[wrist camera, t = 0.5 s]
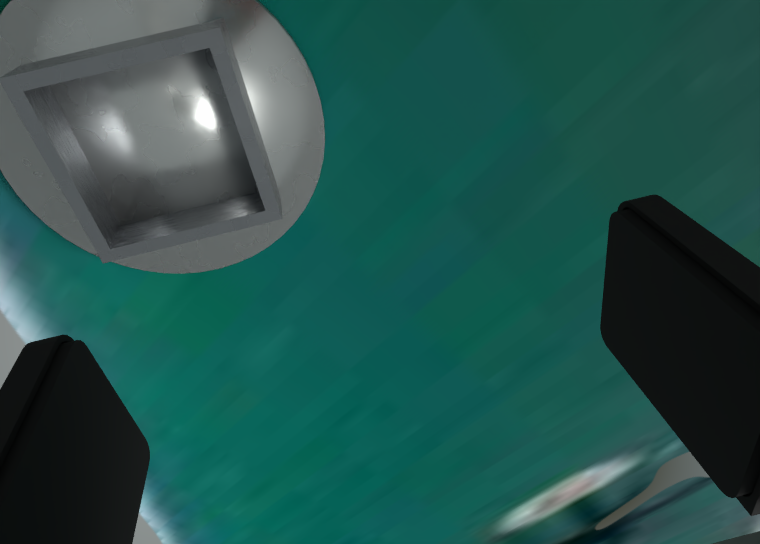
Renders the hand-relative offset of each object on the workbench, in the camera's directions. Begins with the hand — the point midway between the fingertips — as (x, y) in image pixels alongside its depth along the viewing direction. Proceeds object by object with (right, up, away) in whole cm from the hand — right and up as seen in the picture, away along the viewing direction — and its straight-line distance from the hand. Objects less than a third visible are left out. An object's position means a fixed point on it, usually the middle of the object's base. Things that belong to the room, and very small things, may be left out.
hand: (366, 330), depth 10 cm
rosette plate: (-13, +10, +24) cm, 28 cm away
